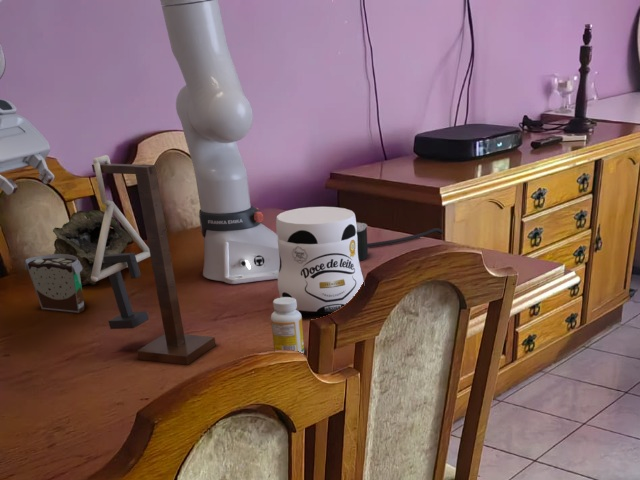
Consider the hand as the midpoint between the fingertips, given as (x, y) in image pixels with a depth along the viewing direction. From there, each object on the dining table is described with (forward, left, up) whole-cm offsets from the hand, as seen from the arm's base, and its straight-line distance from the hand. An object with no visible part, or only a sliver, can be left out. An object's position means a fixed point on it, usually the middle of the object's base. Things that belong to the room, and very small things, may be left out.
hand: (32, 186), depth 143 cm
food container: (+4, -21, -27) cm, 35 cm away
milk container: (-48, -8, -27) cm, 56 cm away
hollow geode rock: (+1, -45, -27) cm, 53 cm away
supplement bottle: (-40, +17, -27) cm, 52 cm away
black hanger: (-14, +8, -23) cm, 27 cm away
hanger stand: (-19, +10, -27) cm, 34 cm away
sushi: (-58, -45, -27) cm, 79 cm away
